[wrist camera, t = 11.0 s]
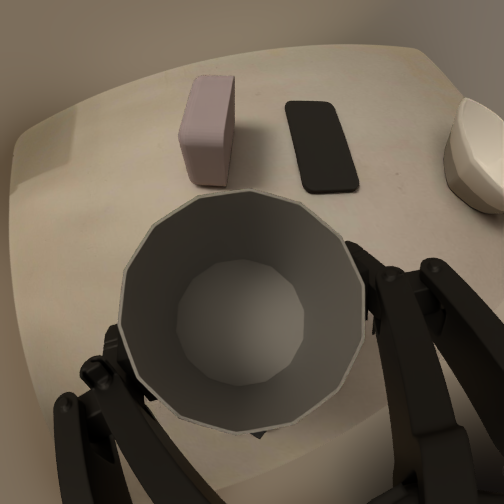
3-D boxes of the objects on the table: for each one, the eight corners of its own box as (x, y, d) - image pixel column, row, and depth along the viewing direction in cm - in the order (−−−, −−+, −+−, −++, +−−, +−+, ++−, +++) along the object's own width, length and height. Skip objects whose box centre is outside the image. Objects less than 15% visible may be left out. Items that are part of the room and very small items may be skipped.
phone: (332, 101, 39) (361, 188, 34) (331, 105, 39) (359, 192, 35) (283, 100, 38) (305, 191, 34) (282, 104, 39) (303, 194, 35)
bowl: (429, 117, 41) (454, 83, 32) (498, 163, 40) (527, 139, 31) (425, 197, 36) (463, 164, 27) (503, 245, 35) (542, 225, 26)
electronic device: (200, 124, 37) (192, 69, 28) (234, 126, 37) (234, 70, 28) (187, 188, 34) (171, 137, 25) (226, 190, 35) (222, 139, 25)
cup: (160, 362, 18) (91, 381, 8) (197, 246, 20) (166, 167, 11) (285, 398, 18) (330, 452, 8) (317, 280, 20) (383, 229, 10)
